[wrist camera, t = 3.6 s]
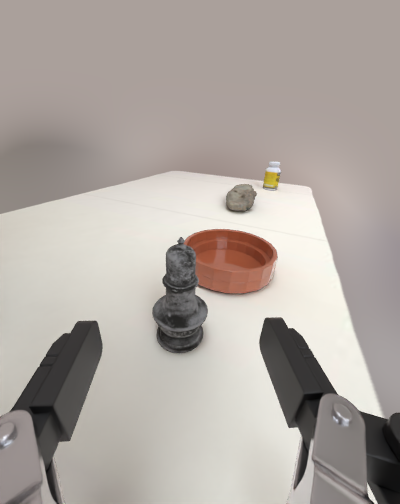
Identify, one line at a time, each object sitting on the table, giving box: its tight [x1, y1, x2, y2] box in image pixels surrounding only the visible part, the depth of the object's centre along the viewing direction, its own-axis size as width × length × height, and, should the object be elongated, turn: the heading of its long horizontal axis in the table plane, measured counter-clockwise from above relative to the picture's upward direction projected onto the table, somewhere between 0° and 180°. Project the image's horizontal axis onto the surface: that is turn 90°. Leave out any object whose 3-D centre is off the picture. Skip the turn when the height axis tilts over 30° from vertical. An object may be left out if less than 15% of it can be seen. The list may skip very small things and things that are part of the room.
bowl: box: [184, 229, 277, 293], centre depth 37 cm, size 15×15×4 cm
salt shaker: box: [152, 237, 208, 353], centre depth 22 cm, size 6×6×12 cm
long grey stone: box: [226, 184, 257, 211], centre depth 80 cm, size 35×5×10 cm
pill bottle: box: [263, 162, 281, 190], centre depth 99 cm, size 6×6×12 cm
